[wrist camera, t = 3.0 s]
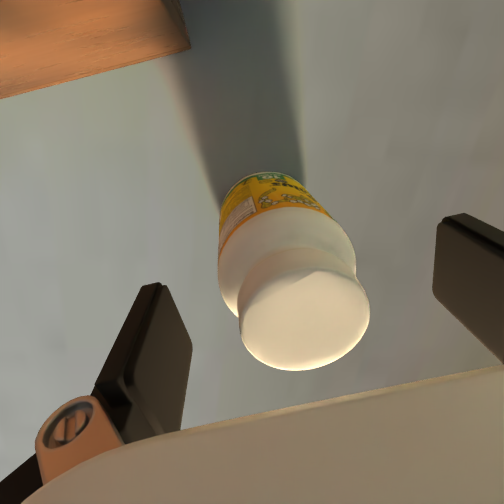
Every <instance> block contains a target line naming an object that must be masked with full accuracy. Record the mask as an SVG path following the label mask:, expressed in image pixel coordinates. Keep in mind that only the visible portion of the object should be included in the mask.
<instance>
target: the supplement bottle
mask: <svg viewBox="0 0 504 504" xmlns="http://www.w3.org/2000/svg"><path fill="white" fill-rule="evenodd" d="M218 282H219V287H220V291H221V294H222V296H223V299H224V301H225V302H226V304H227V306H228V307H229V308H230V310H231V311H232V312H233V313H234V314H235V315H236V316H237V317H238V318H239V329H240V334H241V337H242V340H243V342H244V344H245V346H246V348H247V349H248V350H249V352H250V353H251V354H252V355H253V356H254V357H256V358H257V359H258V360H259V361H261V362H263V363H265V364H267V365H269V366H271V367H274V368H278V369H283V370H307V369H313V368H318V367H320V366H323V365H326V364H328V363H330V362H333V361H335V360H337V359H338V358H340V357H342V356H343V355H345V354H346V353H347V352H349V351H350V350H351V349H352V348H353V347H354V346H355V345H356V344H357V343H358V341H359V340H360V339H361V337H362V336H363V334H364V332H365V330H366V328H367V325H368V323H369V317H370V306H369V300H368V297H367V295H366V293H365V291H364V289H363V287H362V285H361V284H360V282H359V281H358V280H357V278H356V257H355V252H354V249H353V246H352V244H351V242H350V240H349V238H348V236H347V235H346V233H345V232H344V230H343V229H342V228H341V227H340V226H339V224H338V223H337V222H336V221H335V220H334V219H333V218H332V217H331V216H330V215H329V214H328V212H327V211H326V210H325V209H324V208H323V207H322V206H321V205H320V204H319V203H318V202H317V201H316V200H315V199H314V198H313V197H312V196H311V195H310V194H309V192H308V191H307V190H306V189H305V188H304V187H303V186H302V185H301V184H300V183H299V182H297V181H296V180H295V179H293V178H292V177H290V176H288V175H285V174H282V173H277V172H259V173H254V174H251V175H248V176H246V177H244V178H242V179H241V180H239V181H238V182H237V183H236V184H235V185H234V186H233V187H232V188H231V189H230V190H229V192H228V193H227V195H226V196H225V198H224V201H223V203H222V206H221V211H220V219H219V246H218Z"/></svg>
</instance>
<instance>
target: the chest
mask: <svg viewBox="0 0 504 504" xmlns="http://www.w3.org/2000/svg"><path fill="white" fill-rule="evenodd" d="M189 49H191V43H190V40H189V36H188V32H187V28H186V25H185V21H184V17H183V13H182V10H181V6H180V2H179V0H0V99H3V98H7V97H10V96H14V95H18V94H22V93H26V92H30V91H33V90H37V89H41V88H45V87H49V86H52V85H56V84H60V83H64V82H68V81H71V80H75V79H79V78H83V77H87V76H90V75H94V74H98V73H102V72H106V71H109V70H113V69H117V68H121V67H125V66H129V65H132V64H136V63H140V62H144V61H148V60H151V59H155V58H159V57H163V56H167V55H170V54H174V53H178V52H182V51H186V50H189Z"/></svg>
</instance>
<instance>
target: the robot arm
mask: <svg viewBox="0 0 504 504" xmlns="http://www.w3.org/2000/svg"><path fill="white" fill-rule="evenodd" d="M432 290H433V294H434V296H435V298H436V299H437V300H438V301H439V302H440V303H441V304H442V305H443V306H444V307H445V308H446V309H447V310H448V311H449V312H450V313H451V314H452V315H454V316H455V317H456V318H457V319H458V320H459V321H460V322H461V323H462V324H463V325H464V326H465V327H466V328H467V329H468V330H469V331H470V332H471V333H472V334H473V335H474V336H475V337H476V338H477V339H478V340H479V341H480V342H481V343H482V344H483V345H484V346H485V347H486V348H487V349H488V350H489V351H490V352H491V353H492V354H493V355H495V356H496V357H497V358H498V359H499V360H500V361H501V362H502V363H503V364H502V365H497V366H492V367H487V368H482V369H477V370H472V371H467V372H461V373H456V374H451V375H446V376H441V377H436V378H431V379H426V380H421V381H416V382H411V383H406V384H401V385H396V386H391V387H386V388H381V389H376V390H371V391H366V392H361V393H356V394H351V395H346V396H341V397H336V398H331V399H326V400H321V401H316V402H311V403H307V404H302V405H297V406H292V407H287V408H282V409H278V410H273V411H268V412H263V413H258V414H253V415H249V416H244V417H239V418H234V419H229V420H224V421H220V422H215V423H211V424H206V425H202V426H197V427H193V428H189V429H184V430H180V427H181V421H182V414H183V408H184V402H185V395H186V389H187V383H188V376H189V370H190V363H191V357H192V350H193V349H192V342H191V339H190V337H189V335H188V332H187V330H186V328H185V325H184V323H183V321H182V319H181V316H180V314H179V312H178V309H177V307H176V305H175V303H174V300H173V298H172V296H171V293H170V291H169V289H168V287H167V286H166V285H163V286H162V284H161V283H159V282H157V283H153V284H148V285H144V286H142V287H141V289H140V291H139V293H138V295H137V297H136V299H135V301H134V303H133V306H132V308H131V310H130V312H129V314H128V316H127V318H126V320H125V322H124V324H123V326H122V328H121V330H120V333H119V335H118V337H117V339H116V341H115V343H114V345H113V347H112V349H111V351H110V353H109V355H108V357H107V359H106V362H105V364H104V366H103V368H102V370H101V372H100V374H99V376H98V378H97V380H96V382H95V384H94V385H95V387H94V389H93V391H92V393H91V395H90V396H89V395H87V396H80V397H77V398H75V399H72V400H70V401H69V402H67V403H65V404H64V405H62V406H61V407H59V408H58V409H57V410H56V411H55V412H53V413H52V414H51V416H50V417H49V418H48V419H47V420H46V421H45V422H44V424H43V425H42V427H41V428H40V430H39V432H38V434H37V437H36V440H35V450H36V453H35V454H34V455H33V456H31V457H30V458H29V459H28V460H27V461H25V462H24V463H23V464H22V465H20V466H19V467H18V468H17V469H16V470H14V471H13V472H12V473H11V474H10V475H8V476H7V477H6V478H5V479H3V480H2V481H1V482H0V504H504V232H503V231H501V230H499V229H497V228H495V227H493V226H491V225H489V224H487V223H485V222H483V221H481V220H478V219H476V218H474V217H472V216H470V215H468V214H466V213H461V214H457V215H452V216H448V217H445V218H443V220H442V222H441V223H439V224H438V226H437V234H436V247H435V260H434V273H433V286H432Z"/></svg>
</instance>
